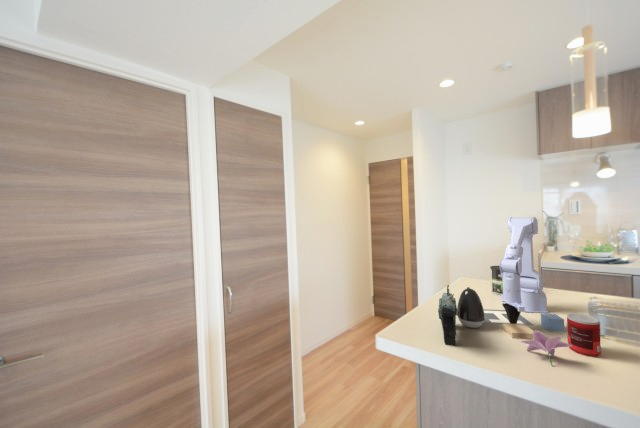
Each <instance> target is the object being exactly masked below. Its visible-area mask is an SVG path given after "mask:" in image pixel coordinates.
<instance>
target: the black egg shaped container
mask: <svg viewBox="0 0 640 428" xmlns="http://www.w3.org/2000/svg"><path fill="white" fill-rule="evenodd" d="M456 307H457V315H456V317H457V319H458V321H459V322H460V323H461V324H462V325H463V326H465V327H467V328H471V329H477V328H480V327H481V326H482V325H483V324H484V320H485V314H484V309H485V308H484V307H483V302H482V300H481V298H480V296H479V295H478V293H477V291H475V290H474V289H473V288H470V287H466V288H465V289H463V291H462V292H461V293H460V296H459V297H458V302H457V304H456Z"/></svg>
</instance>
